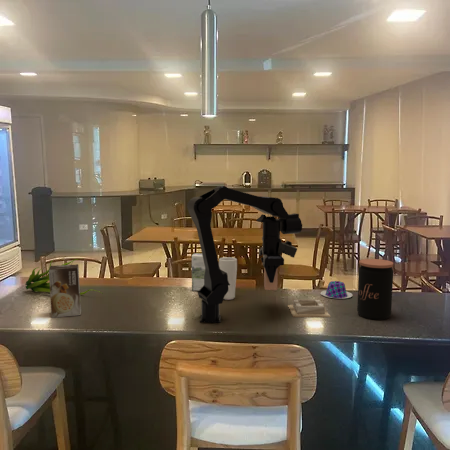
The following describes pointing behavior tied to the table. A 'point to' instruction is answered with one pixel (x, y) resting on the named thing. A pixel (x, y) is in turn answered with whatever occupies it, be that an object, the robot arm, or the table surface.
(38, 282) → the decorative plant
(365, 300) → the coffee jar
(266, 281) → the bracket block
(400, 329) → the table surface
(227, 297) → the white tumbler
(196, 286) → the syrup box
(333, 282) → the pudding
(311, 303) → the post socket
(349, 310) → the table surface
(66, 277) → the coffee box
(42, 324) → the table surface
